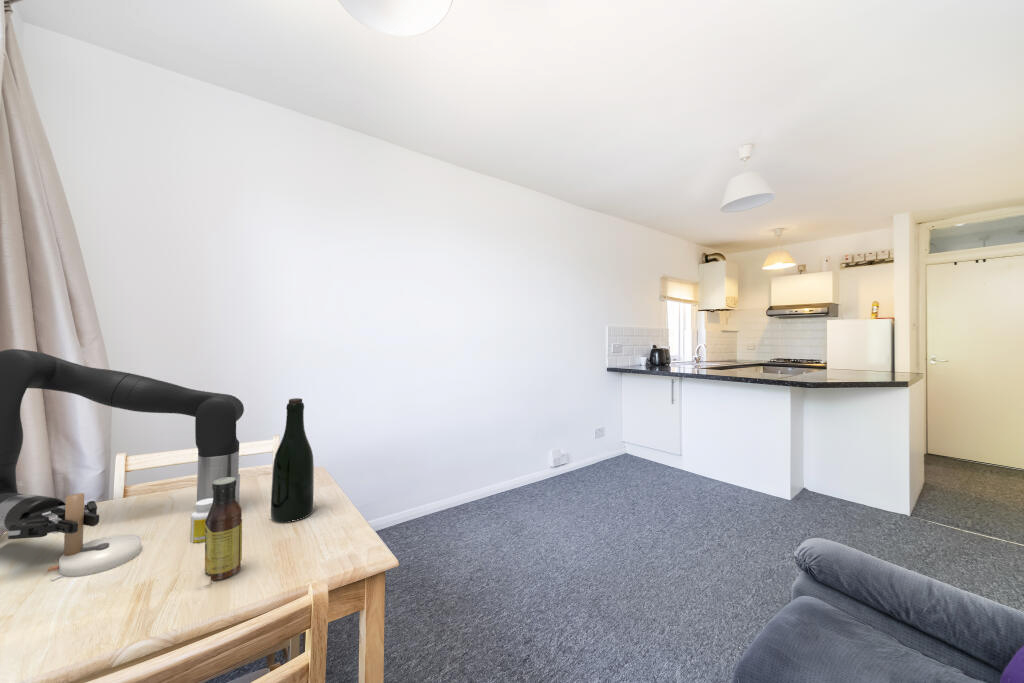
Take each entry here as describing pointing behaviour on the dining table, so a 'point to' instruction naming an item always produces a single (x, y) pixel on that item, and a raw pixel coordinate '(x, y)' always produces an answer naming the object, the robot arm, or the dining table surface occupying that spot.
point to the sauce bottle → (223, 531)
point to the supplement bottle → (199, 520)
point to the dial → (93, 546)
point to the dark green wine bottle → (293, 469)
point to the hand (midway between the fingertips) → (85, 524)
